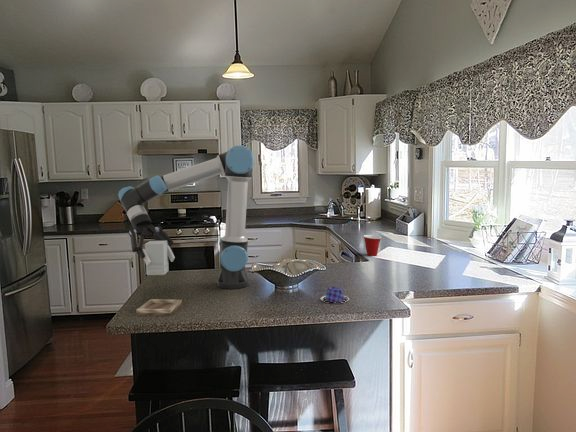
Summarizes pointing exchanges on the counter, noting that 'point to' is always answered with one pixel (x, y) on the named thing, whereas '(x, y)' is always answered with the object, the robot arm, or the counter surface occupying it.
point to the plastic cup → (372, 244)
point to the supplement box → (157, 257)
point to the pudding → (334, 295)
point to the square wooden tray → (159, 307)
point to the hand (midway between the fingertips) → (161, 261)
